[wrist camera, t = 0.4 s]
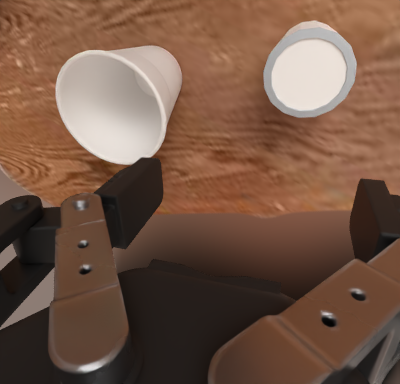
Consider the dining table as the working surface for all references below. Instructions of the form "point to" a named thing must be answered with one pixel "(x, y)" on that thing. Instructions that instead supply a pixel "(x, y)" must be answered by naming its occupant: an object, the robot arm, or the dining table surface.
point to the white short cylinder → (309, 70)
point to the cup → (119, 100)
